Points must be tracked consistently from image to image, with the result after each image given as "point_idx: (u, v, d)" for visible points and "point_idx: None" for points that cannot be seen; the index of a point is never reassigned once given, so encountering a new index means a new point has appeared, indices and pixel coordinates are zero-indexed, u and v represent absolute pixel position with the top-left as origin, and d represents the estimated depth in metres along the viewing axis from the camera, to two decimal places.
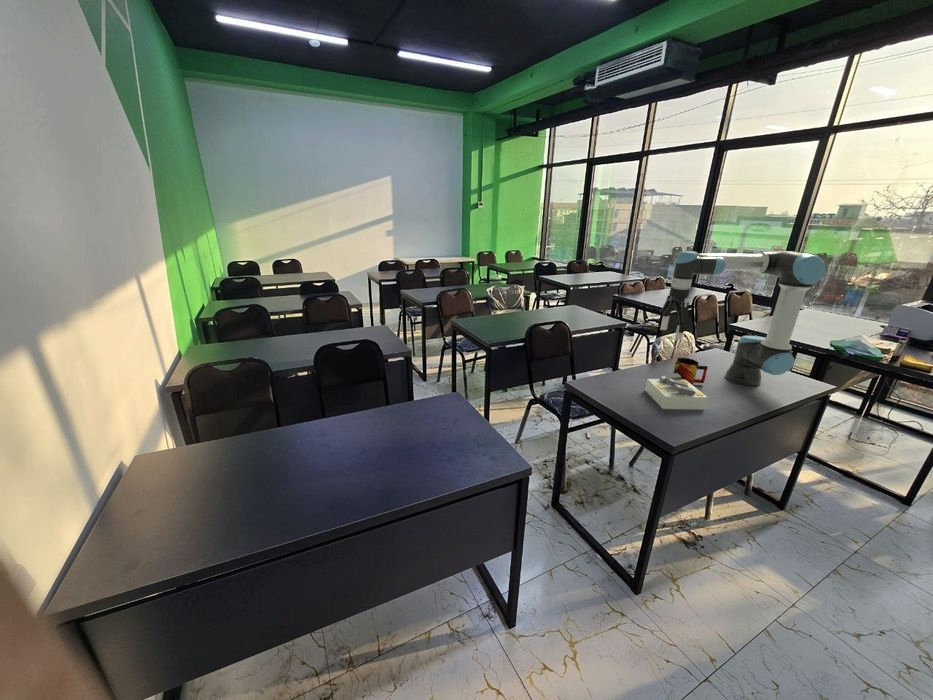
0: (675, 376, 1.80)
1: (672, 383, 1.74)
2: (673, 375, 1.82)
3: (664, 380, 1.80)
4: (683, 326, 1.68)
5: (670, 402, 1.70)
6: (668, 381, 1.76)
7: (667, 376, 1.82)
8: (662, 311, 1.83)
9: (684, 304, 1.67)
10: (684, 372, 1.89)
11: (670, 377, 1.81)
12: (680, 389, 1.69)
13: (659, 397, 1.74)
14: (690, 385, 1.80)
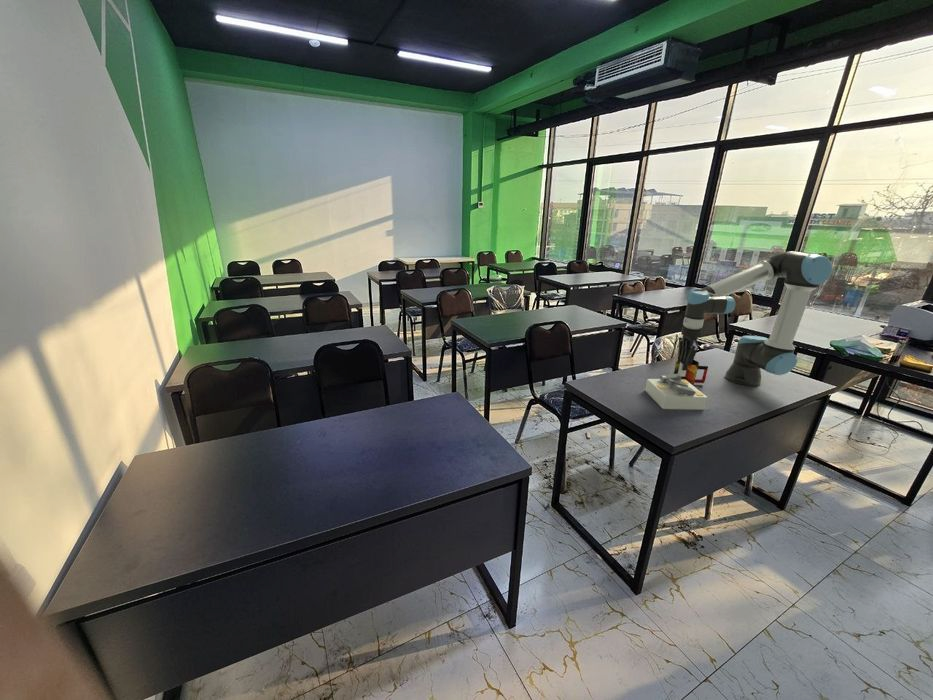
0: (675, 377, 1.80)
1: (672, 383, 1.74)
2: (673, 375, 1.82)
3: (664, 379, 1.80)
4: (686, 364, 1.78)
5: (670, 402, 1.70)
6: (668, 381, 1.76)
7: (667, 376, 1.82)
8: (679, 355, 1.81)
9: (694, 349, 1.71)
10: None
11: (670, 377, 1.81)
12: (680, 389, 1.69)
13: (659, 397, 1.74)
14: (690, 385, 1.80)
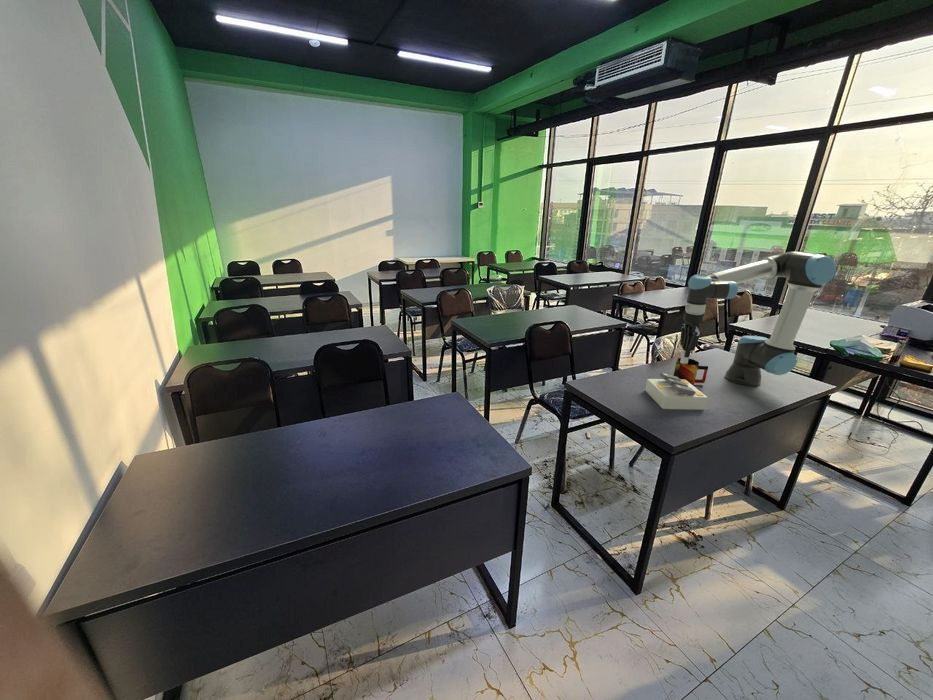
0: (675, 378, 1.81)
1: (672, 383, 1.74)
2: (674, 376, 1.82)
3: (665, 377, 1.80)
4: (689, 351, 1.75)
5: (670, 402, 1.70)
6: (668, 381, 1.76)
7: (668, 375, 1.82)
8: (681, 342, 1.79)
9: (696, 334, 1.68)
10: (685, 372, 1.89)
11: (671, 377, 1.81)
12: (680, 389, 1.69)
13: (659, 397, 1.74)
14: (690, 385, 1.80)
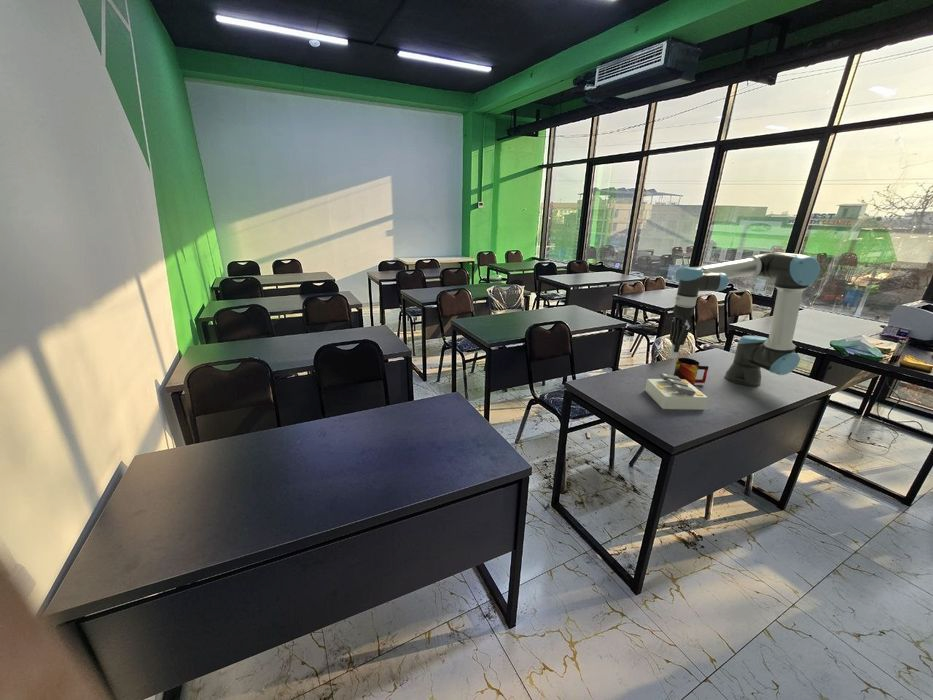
0: (675, 378, 1.81)
1: (672, 383, 1.74)
2: (674, 376, 1.82)
3: (665, 377, 1.80)
4: (678, 346, 1.68)
5: (670, 402, 1.70)
6: (668, 381, 1.76)
7: (668, 375, 1.82)
8: (671, 336, 1.72)
9: (686, 328, 1.61)
10: (685, 372, 1.89)
11: (671, 377, 1.81)
12: (680, 389, 1.69)
13: (659, 397, 1.74)
14: (690, 385, 1.80)
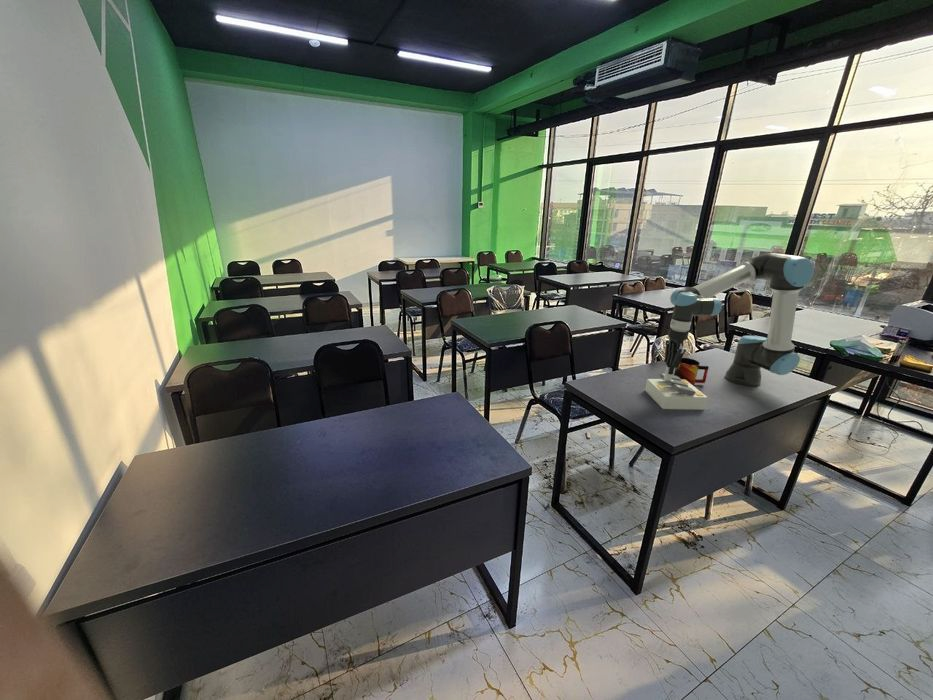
0: (675, 378, 1.81)
1: (672, 383, 1.74)
2: (674, 376, 1.82)
3: None
4: (672, 368, 1.72)
5: (670, 402, 1.70)
6: (668, 381, 1.76)
7: None
8: (665, 359, 1.75)
9: (680, 352, 1.65)
10: (685, 372, 1.89)
11: None
12: (680, 389, 1.69)
13: (659, 397, 1.74)
14: (690, 385, 1.80)
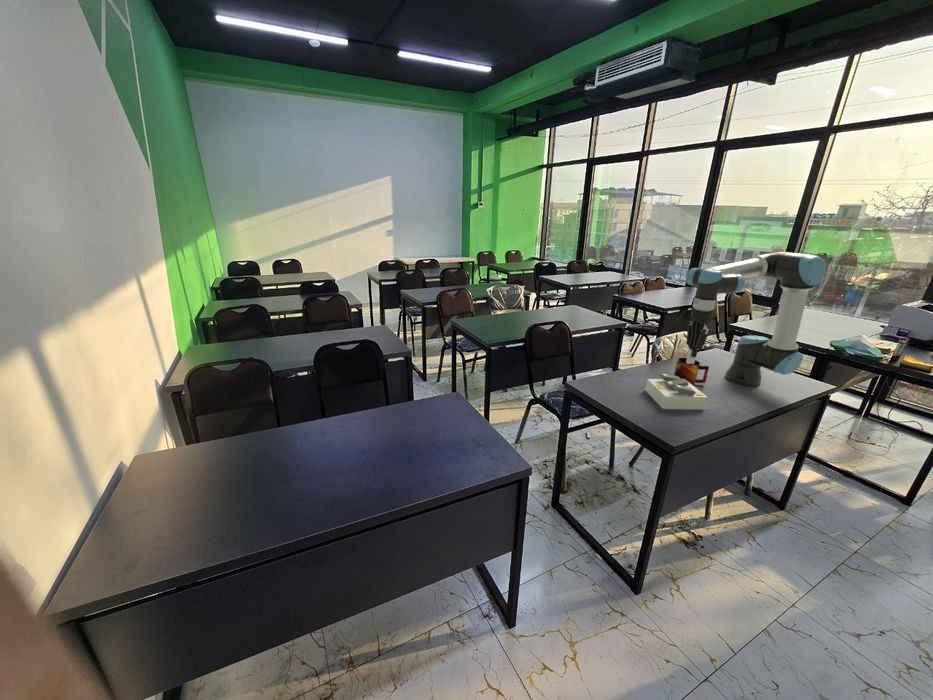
0: (675, 378, 1.81)
1: (671, 386, 1.75)
2: (674, 376, 1.82)
3: (665, 377, 1.80)
4: (696, 350, 1.62)
5: (670, 402, 1.70)
6: (667, 384, 1.77)
7: (668, 375, 1.82)
8: (688, 341, 1.66)
9: (705, 332, 1.55)
10: (685, 372, 1.89)
11: (671, 377, 1.81)
12: (680, 389, 1.69)
13: (659, 397, 1.74)
14: (690, 385, 1.80)
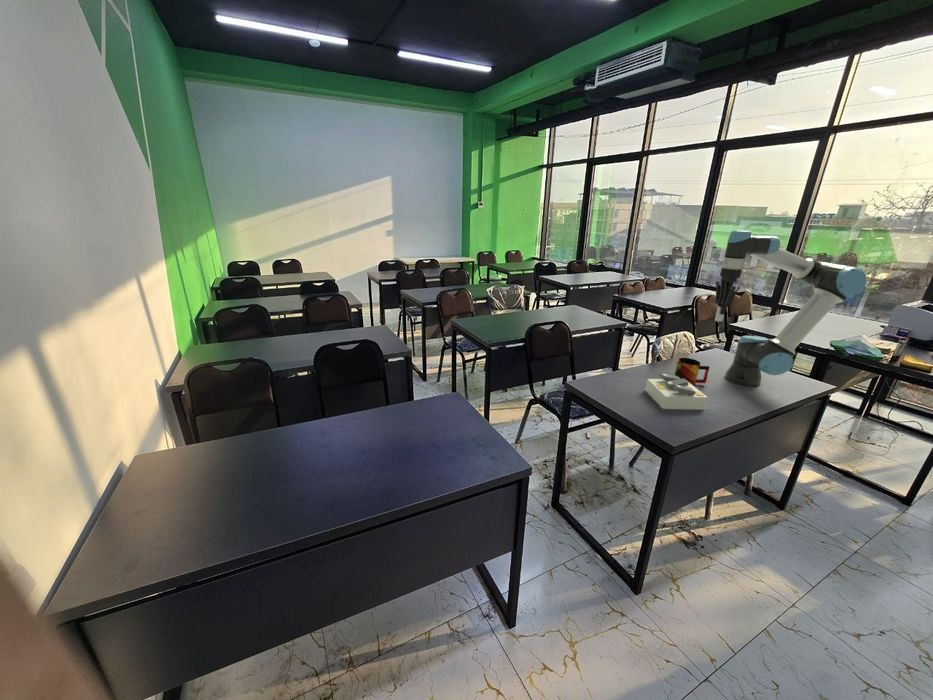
0: (675, 378, 1.81)
1: (671, 386, 1.75)
2: (674, 376, 1.82)
3: (665, 377, 1.80)
4: (725, 308, 1.74)
5: (670, 402, 1.70)
6: (667, 384, 1.77)
7: (668, 375, 1.82)
8: (716, 300, 1.77)
9: (734, 289, 1.67)
10: (686, 372, 1.89)
11: (671, 377, 1.81)
12: (680, 389, 1.69)
13: (659, 397, 1.74)
14: (690, 385, 1.80)
